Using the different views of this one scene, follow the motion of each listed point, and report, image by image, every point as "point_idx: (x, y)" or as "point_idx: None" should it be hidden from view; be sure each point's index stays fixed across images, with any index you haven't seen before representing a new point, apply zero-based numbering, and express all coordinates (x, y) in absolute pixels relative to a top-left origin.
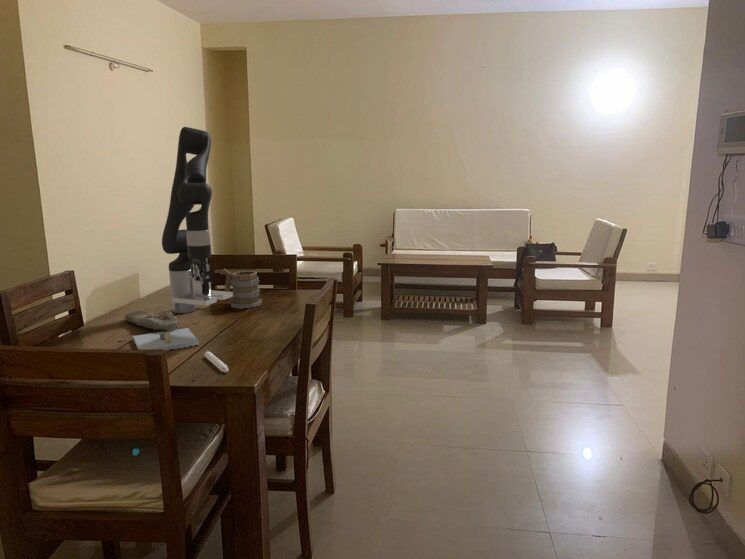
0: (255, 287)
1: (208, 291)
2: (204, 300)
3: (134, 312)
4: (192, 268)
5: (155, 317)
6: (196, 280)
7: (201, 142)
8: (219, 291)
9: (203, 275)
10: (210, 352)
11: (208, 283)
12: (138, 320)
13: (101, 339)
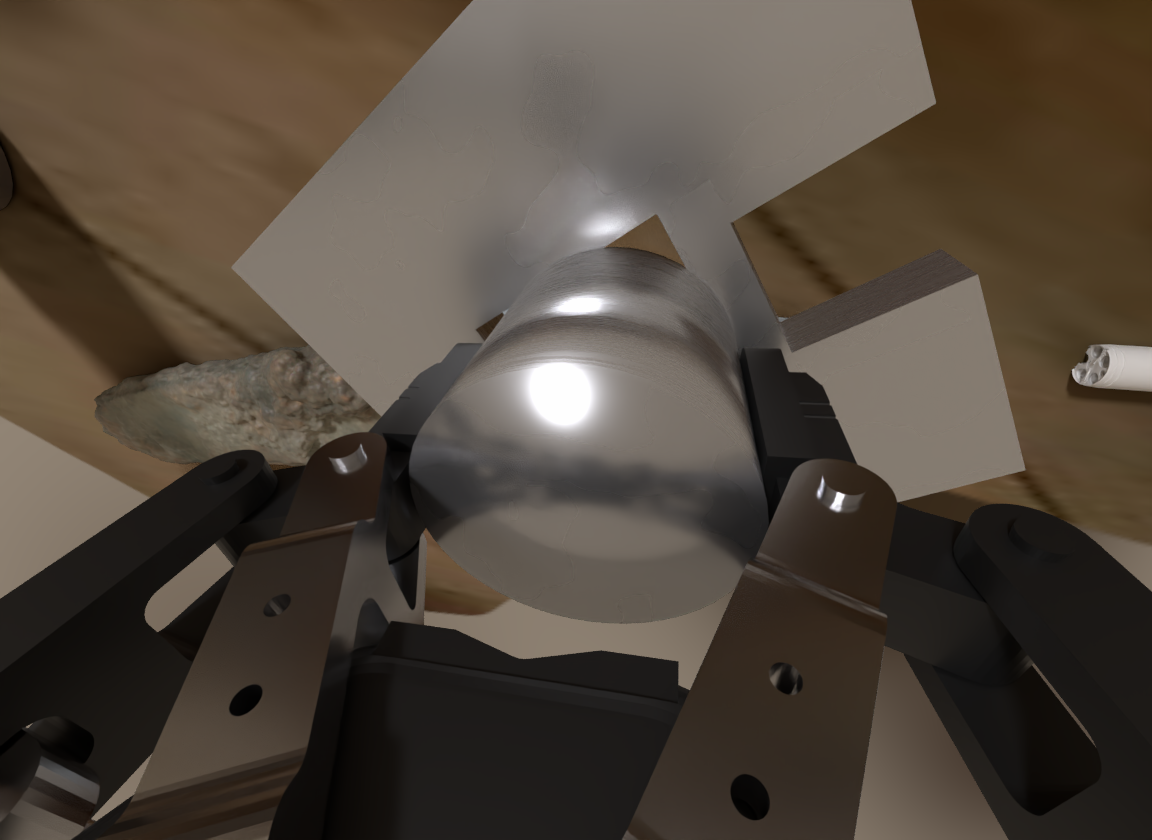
0: None
1: (821, 393)
2: (982, 473)
3: (131, 431)
4: (151, 746)
5: (324, 429)
6: (520, 570)
7: None
8: (518, 26)
9: (1046, 835)
10: (1146, 368)
11: (818, 463)
12: (299, 464)
13: (428, 553)
